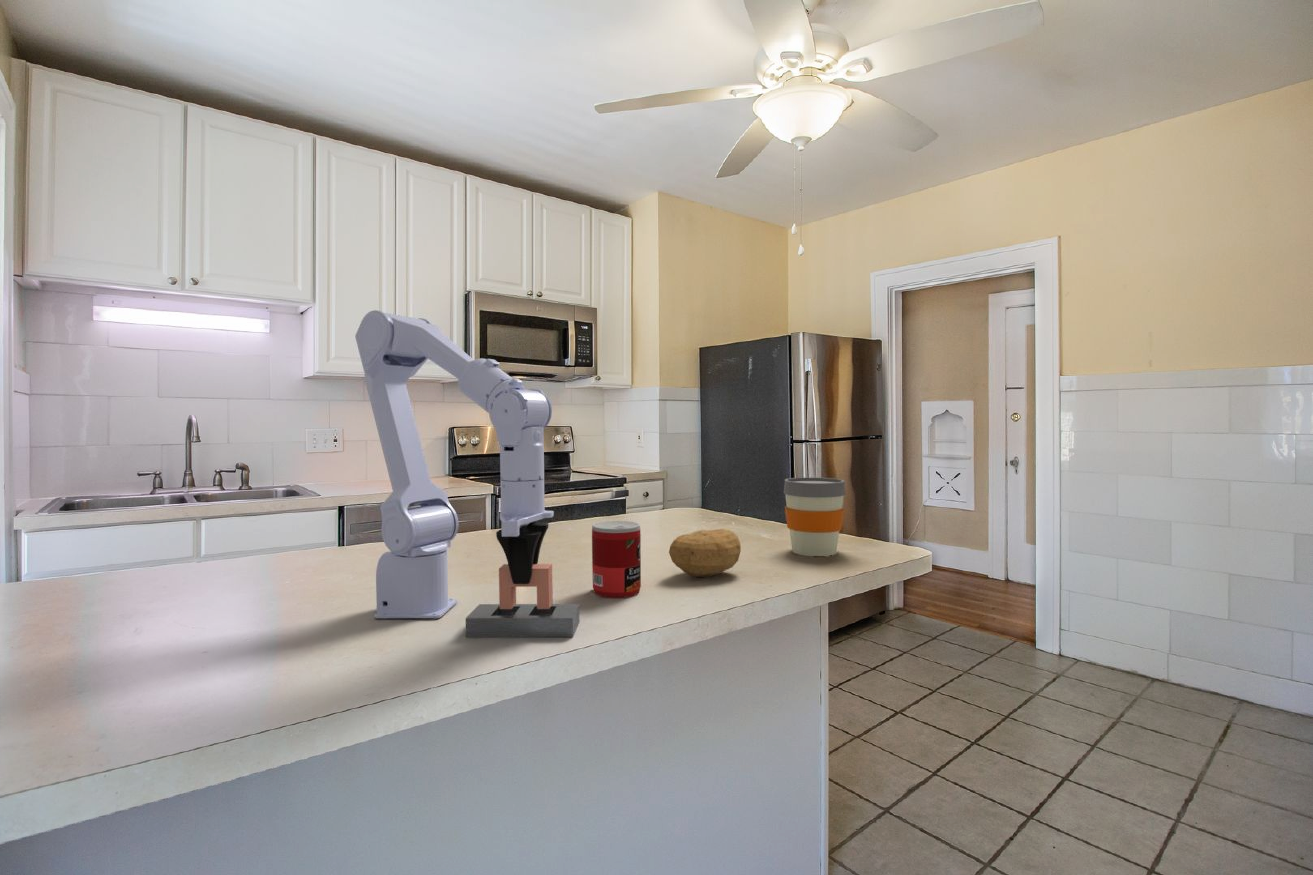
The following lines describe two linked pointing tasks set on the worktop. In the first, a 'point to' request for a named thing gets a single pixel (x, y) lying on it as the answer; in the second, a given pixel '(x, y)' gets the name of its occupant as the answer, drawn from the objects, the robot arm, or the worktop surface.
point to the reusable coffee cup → (814, 514)
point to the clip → (538, 579)
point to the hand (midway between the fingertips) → (524, 580)
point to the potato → (705, 552)
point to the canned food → (616, 558)
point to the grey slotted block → (523, 621)
